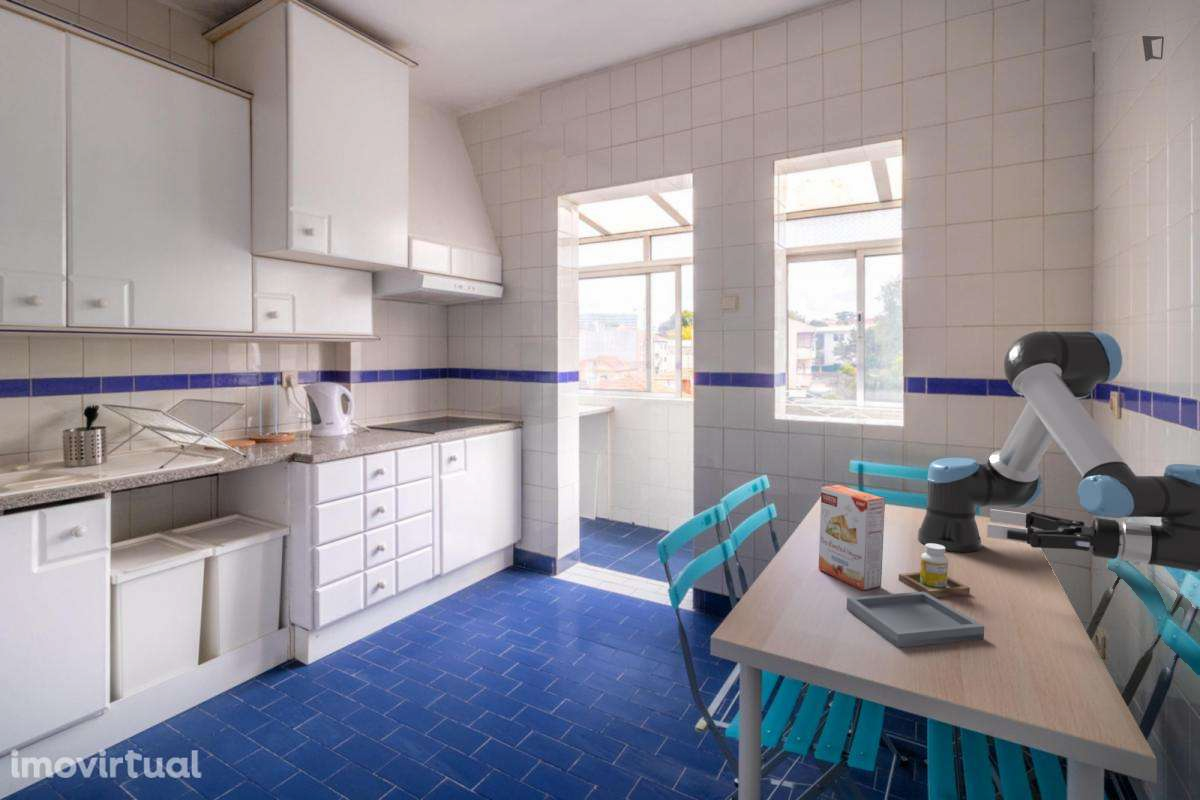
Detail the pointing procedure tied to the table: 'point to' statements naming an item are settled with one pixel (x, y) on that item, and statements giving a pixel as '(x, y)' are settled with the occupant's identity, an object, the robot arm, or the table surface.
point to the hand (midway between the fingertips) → (988, 522)
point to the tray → (914, 619)
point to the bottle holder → (954, 589)
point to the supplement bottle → (934, 567)
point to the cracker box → (851, 536)
